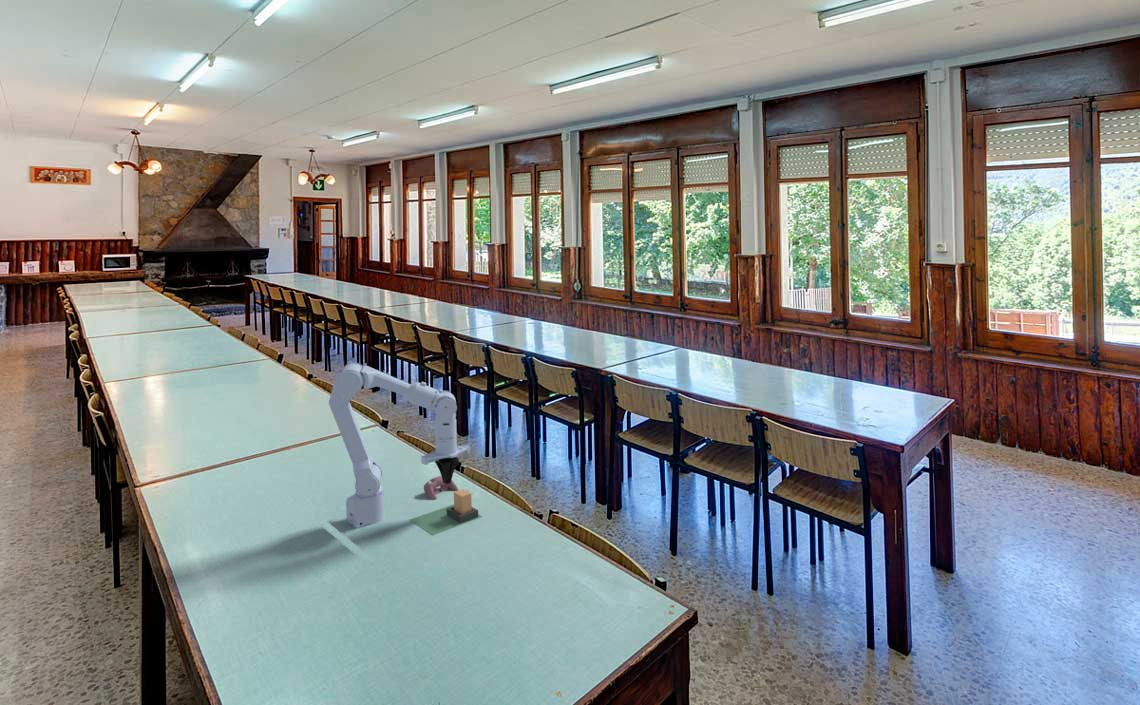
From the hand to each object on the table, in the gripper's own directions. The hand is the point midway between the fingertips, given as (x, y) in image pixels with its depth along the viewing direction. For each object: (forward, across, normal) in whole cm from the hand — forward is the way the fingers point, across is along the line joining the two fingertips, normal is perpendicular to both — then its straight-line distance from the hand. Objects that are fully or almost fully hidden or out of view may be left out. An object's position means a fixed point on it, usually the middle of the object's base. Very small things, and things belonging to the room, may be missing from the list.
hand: (446, 482), depth 171 cm
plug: (+8, +1, -6) cm, 10 cm away
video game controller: (+10, +6, +12) cm, 17 cm away
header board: (+10, -3, -3) cm, 11 cm away
